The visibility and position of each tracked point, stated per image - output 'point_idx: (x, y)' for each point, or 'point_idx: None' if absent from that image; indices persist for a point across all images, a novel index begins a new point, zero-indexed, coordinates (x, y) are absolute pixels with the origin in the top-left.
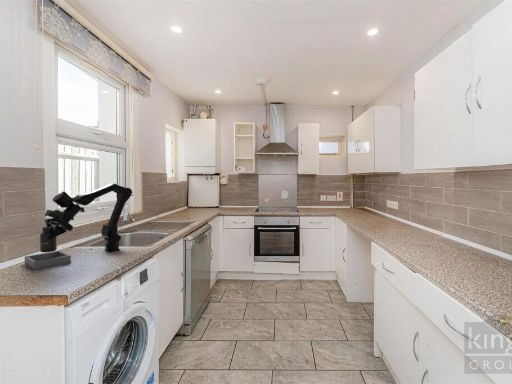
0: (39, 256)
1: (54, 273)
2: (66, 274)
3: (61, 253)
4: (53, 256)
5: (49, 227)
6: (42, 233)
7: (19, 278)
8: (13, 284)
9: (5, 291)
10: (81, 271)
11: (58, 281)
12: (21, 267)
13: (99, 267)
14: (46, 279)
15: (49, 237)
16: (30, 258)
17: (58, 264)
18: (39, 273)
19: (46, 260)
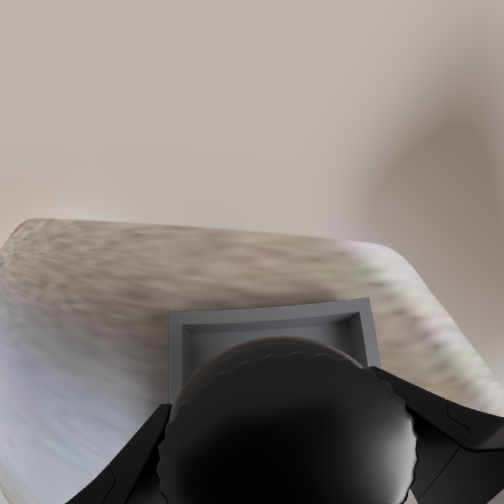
0: None
1: (72, 368)
2: (35, 387)
3: None
4: None
5: (190, 483)
6: (249, 359)
7: (115, 260)
8: (72, 238)
9: (44, 220)
10: (33, 436)
11: (2, 334)
12: (299, 293)
13: (41, 495)
14: (36, 319)
15: (153, 418)
16: (284, 316)
17: None
18: (117, 329)
19: (169, 377)
